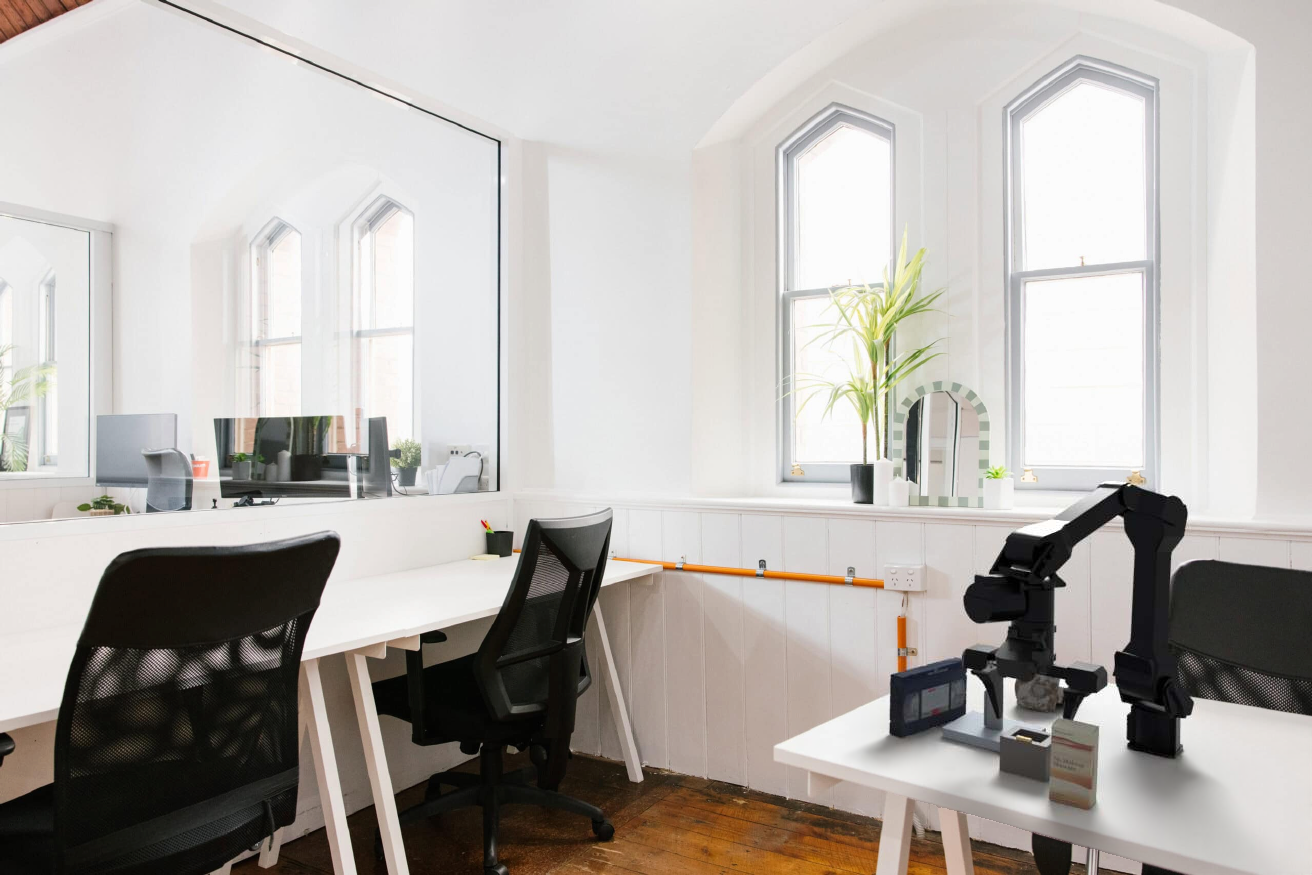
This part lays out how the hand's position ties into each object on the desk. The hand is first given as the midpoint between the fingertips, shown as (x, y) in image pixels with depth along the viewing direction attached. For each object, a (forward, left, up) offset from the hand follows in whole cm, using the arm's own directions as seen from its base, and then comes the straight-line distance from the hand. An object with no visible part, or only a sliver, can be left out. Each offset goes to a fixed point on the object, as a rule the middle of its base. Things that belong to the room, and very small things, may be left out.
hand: (1031, 725), depth 122 cm
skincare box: (-8, +7, -7) cm, 12 cm away
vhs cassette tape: (+19, -8, -7) cm, 22 cm away
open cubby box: (0, 0, -6) cm, 6 cm away
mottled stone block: (+10, -33, -7) cm, 35 cm away
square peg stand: (+9, -10, -6) cm, 15 cm away
